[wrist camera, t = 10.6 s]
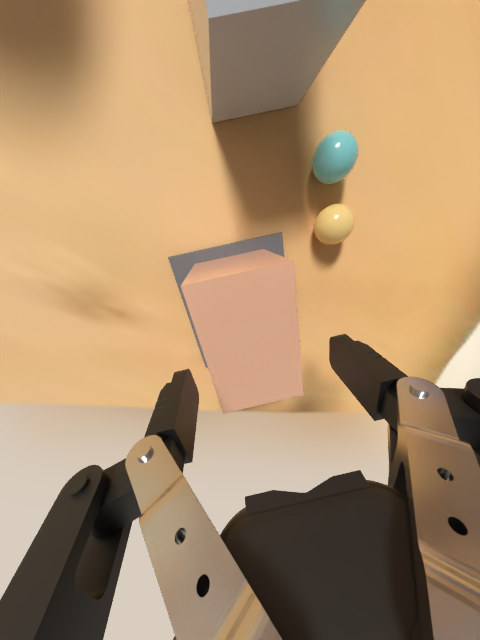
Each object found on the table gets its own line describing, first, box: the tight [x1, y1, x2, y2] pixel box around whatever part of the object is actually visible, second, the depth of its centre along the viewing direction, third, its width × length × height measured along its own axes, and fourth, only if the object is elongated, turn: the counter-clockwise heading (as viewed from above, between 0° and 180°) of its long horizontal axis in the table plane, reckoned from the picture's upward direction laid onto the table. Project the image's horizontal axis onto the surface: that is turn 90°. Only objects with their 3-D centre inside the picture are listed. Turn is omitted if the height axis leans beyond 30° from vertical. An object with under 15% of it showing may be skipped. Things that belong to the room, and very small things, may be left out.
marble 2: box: [314, 204, 355, 245], centre depth 16 cm, size 3×3×3 cm
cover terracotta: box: [181, 249, 304, 413], centre depth 16 cm, size 6×10×8 cm, turn 11°
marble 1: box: [312, 130, 358, 184], centre depth 14 cm, size 3×3×3 cm
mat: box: [169, 233, 284, 367], centre depth 20 cm, size 10×12×1 cm
